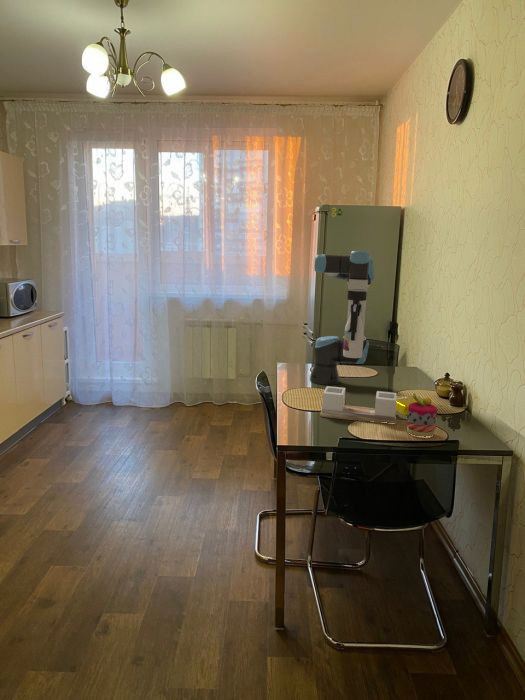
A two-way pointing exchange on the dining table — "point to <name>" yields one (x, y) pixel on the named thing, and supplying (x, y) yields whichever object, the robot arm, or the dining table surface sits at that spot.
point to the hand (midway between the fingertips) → (353, 346)
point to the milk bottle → (359, 341)
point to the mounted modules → (336, 400)
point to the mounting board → (357, 414)
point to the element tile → (406, 403)
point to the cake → (421, 417)
